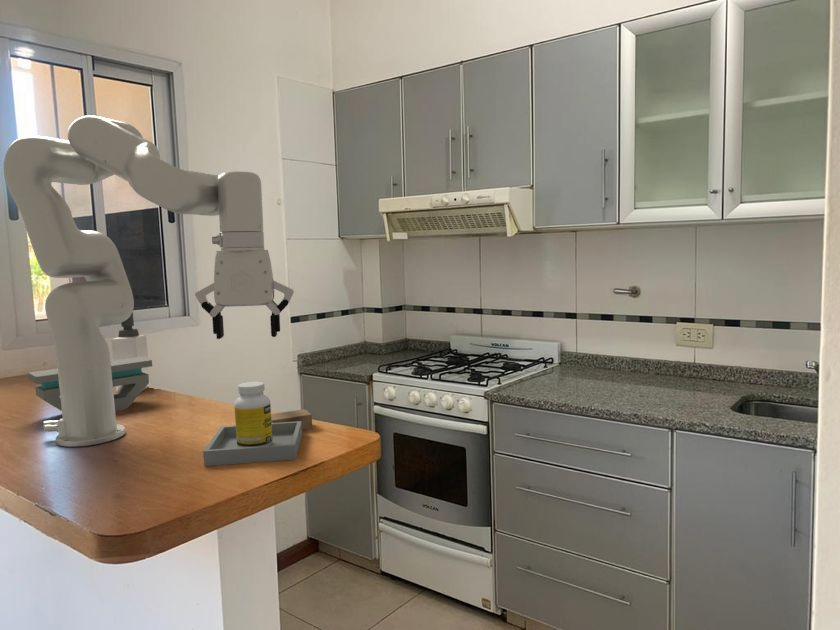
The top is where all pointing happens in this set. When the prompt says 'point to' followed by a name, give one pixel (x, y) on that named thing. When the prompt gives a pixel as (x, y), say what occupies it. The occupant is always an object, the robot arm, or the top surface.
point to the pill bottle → (253, 416)
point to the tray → (280, 449)
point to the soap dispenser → (130, 345)
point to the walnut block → (294, 418)
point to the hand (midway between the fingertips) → (247, 336)
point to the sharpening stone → (123, 375)
